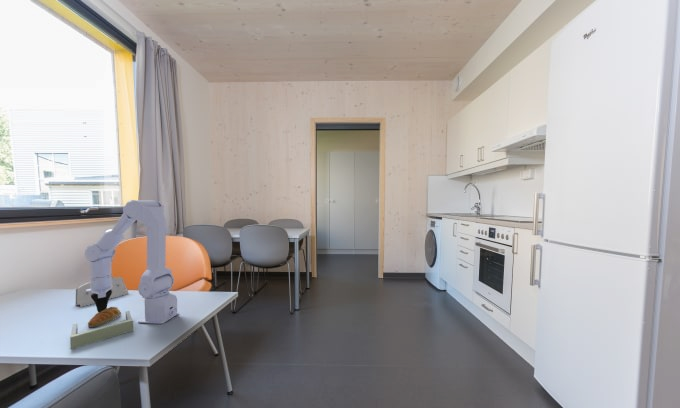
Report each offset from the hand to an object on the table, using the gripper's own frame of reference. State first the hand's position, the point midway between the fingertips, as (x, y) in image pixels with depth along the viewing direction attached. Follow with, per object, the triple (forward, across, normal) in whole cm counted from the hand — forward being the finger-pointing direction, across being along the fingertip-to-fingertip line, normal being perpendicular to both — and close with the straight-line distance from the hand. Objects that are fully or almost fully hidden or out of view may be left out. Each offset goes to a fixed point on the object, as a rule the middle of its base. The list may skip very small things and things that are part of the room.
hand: (102, 311), depth 93 cm
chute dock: (+1, +17, 0) cm, 17 cm away
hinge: (+2, -22, 0) cm, 22 cm away
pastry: (+2, +7, +1) cm, 7 cm away
